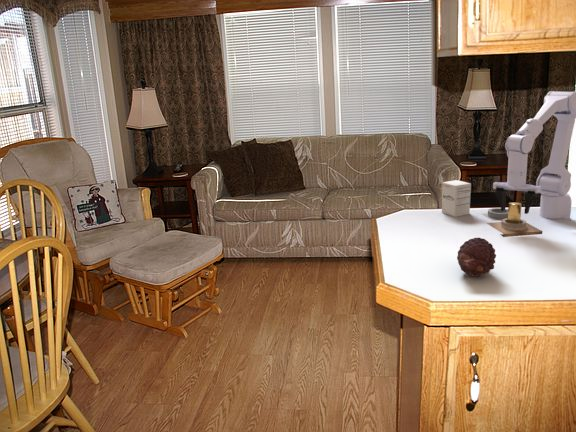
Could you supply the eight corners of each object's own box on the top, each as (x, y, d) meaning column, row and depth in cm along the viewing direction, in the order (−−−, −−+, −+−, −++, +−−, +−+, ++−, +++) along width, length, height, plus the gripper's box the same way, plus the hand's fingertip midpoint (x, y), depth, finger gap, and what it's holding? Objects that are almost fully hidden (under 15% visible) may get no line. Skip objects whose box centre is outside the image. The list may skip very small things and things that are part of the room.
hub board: (522, 223, 192) (522, 214, 191) (542, 234, 179) (542, 225, 179) (486, 225, 191) (486, 217, 190) (503, 237, 178) (504, 228, 178)
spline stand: (505, 214, 203) (505, 206, 202) (517, 221, 194) (517, 213, 194) (481, 216, 202) (482, 208, 201) (492, 223, 194) (493, 214, 193)
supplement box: (440, 215, 207) (441, 182, 203) (456, 212, 210) (457, 179, 206) (454, 219, 200) (455, 185, 197) (470, 216, 203) (471, 182, 200)
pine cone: (458, 260, 160) (460, 227, 157) (495, 263, 156) (497, 229, 154) (454, 283, 144) (455, 247, 141) (494, 287, 140) (496, 250, 138)
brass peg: (509, 224, 188) (510, 201, 185) (521, 226, 185) (523, 203, 183) (505, 227, 185) (507, 204, 182) (517, 229, 182) (519, 206, 180)
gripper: (490, 171, 182) (488, 211, 185) (536, 175, 172) (533, 217, 176) (498, 168, 187) (496, 206, 190) (543, 171, 178) (540, 212, 181)
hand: (514, 211), depth 184 cm, fingers open, 7 cm apart
